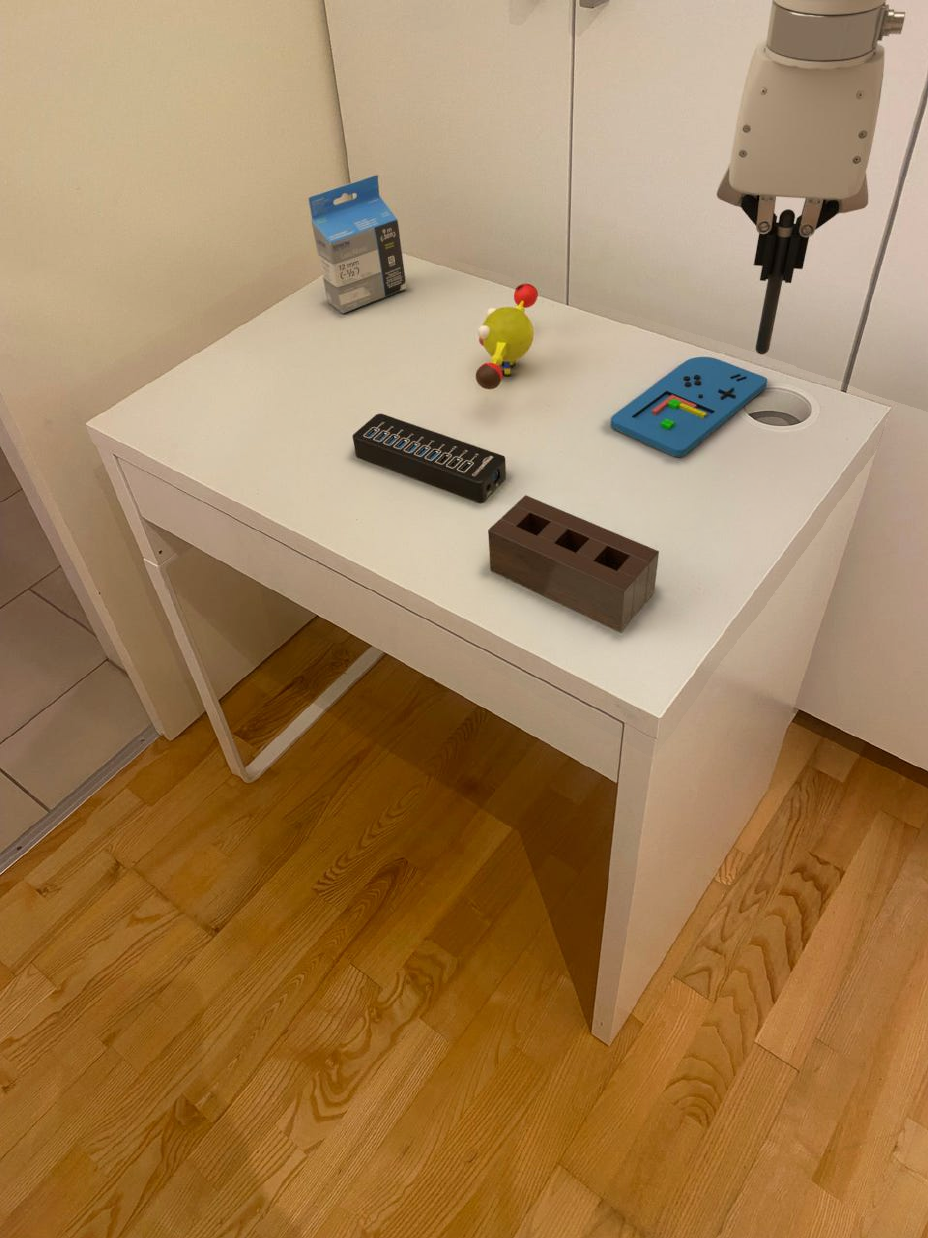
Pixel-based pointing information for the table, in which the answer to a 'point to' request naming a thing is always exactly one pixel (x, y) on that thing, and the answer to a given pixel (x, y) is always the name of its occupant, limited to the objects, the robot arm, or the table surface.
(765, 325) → the stylus
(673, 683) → the table surface
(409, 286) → the table surface
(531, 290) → the toy figure
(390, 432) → the multiport hub
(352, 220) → the label tape box
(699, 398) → the handheld gaming device
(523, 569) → the pen stand
